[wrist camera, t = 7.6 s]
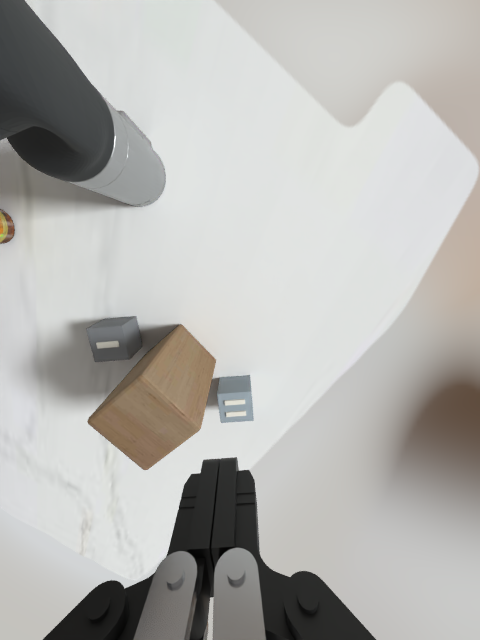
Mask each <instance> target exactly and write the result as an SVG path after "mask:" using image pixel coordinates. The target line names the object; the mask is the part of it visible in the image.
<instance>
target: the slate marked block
mask: <svg viewBox="0 0 480 640" xmlns="http://www.w3.org/2000/svg"><path fill="white" fill-rule="evenodd" d="M217 397H218V405H219V413H220V420H221V423H226V422H240V421H254V420H253V404H252V392H251V381H250V375H247V376H234V377H221V378H220V380H219V386H218V392H217Z"/></svg>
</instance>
